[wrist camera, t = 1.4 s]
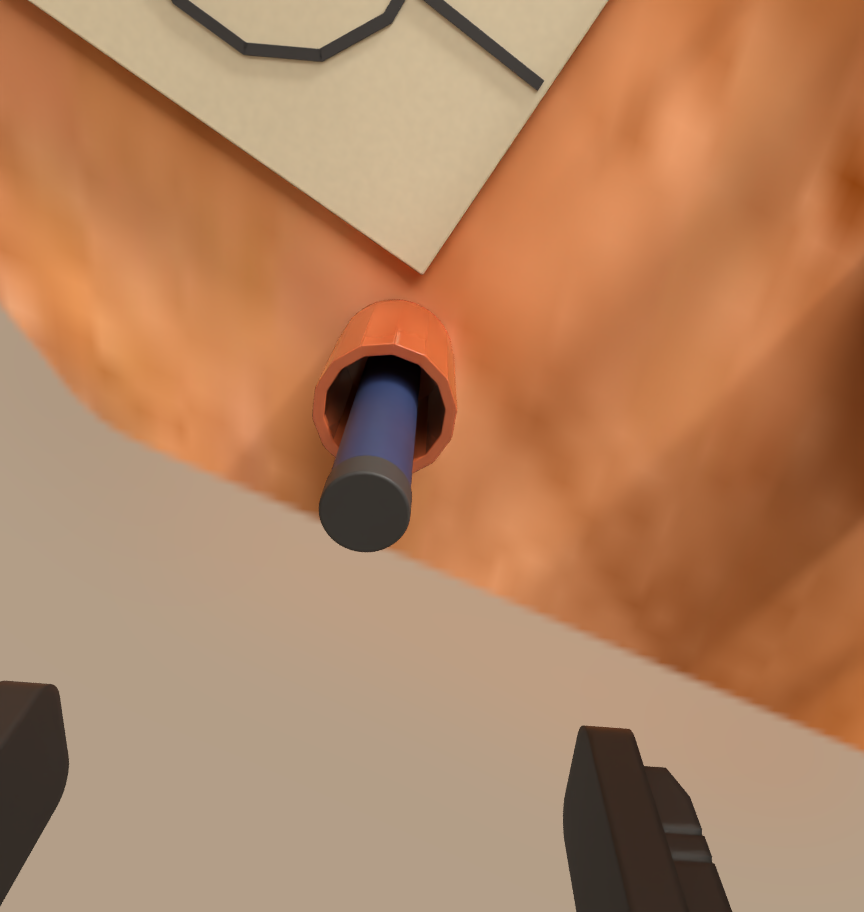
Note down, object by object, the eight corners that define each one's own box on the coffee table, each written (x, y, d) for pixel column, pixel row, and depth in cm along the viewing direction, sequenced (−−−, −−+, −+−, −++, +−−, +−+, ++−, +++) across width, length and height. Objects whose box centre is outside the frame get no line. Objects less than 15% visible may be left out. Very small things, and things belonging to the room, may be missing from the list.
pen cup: (476, 340, 32) (484, 395, 25) (410, 430, 33) (403, 503, 27) (379, 274, 31) (363, 314, 24) (317, 370, 32) (286, 431, 26)
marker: (433, 353, 31) (428, 503, 19) (402, 396, 32) (378, 568, 20) (387, 321, 31) (349, 454, 18) (356, 366, 31) (301, 524, 19)
